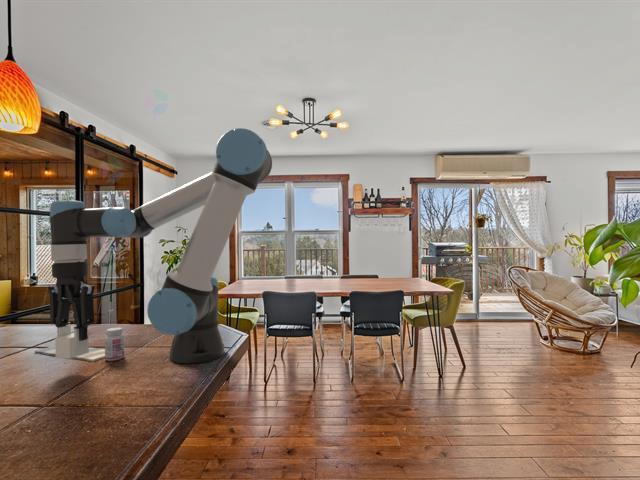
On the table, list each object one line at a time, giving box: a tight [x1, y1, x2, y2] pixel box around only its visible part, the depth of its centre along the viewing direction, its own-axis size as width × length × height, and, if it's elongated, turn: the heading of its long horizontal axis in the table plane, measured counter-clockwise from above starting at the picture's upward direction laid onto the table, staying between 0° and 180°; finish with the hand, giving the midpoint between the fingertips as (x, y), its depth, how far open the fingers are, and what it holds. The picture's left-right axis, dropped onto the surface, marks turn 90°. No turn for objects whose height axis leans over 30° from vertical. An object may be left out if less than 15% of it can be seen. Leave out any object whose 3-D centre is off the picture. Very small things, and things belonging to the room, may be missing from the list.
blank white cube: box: [54, 332, 90, 360], centre depth 91 cm, size 5×5×5 cm
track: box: [34, 345, 105, 362], centre depth 107 cm, size 24×8×1 cm, turn 71°
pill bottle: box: [104, 327, 125, 362], centre depth 102 cm, size 5×5×8 cm
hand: (73, 352), depth 91 cm, fingers closed on blank white cube, 5 cm apart
